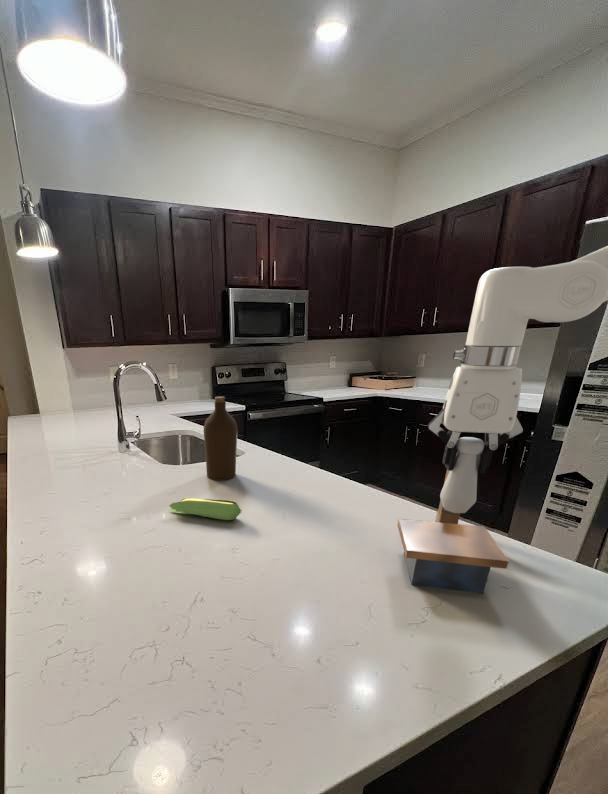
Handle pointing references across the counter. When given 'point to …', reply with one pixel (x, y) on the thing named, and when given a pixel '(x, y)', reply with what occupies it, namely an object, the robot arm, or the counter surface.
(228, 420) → the olive oil
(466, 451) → the salt shaker
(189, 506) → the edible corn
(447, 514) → the wooden block
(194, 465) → the counter surface
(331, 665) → the counter surface
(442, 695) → the counter surface
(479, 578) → the stand
